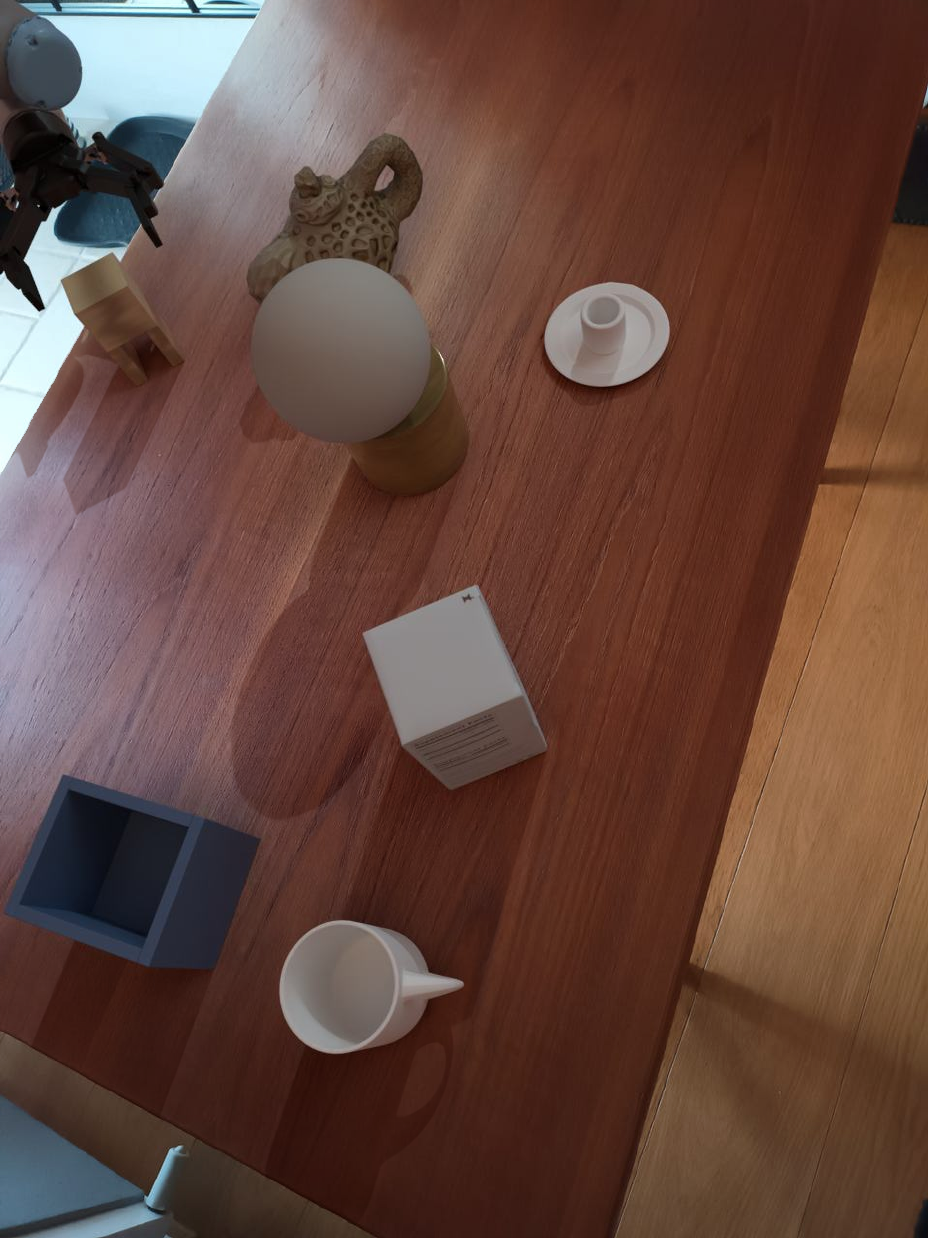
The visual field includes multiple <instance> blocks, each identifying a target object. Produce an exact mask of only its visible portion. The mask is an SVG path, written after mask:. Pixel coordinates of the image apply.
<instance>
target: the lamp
mask: <svg viewBox="0 0 928 1238" xmlns="http://www.w3.org/2000/svg"><path fill="white" fill-rule="evenodd" d="M250 354H251V364H252V368H253V369H252V370H253V373H254V377H255V380H256V382H257V384H258V387H259V389H260V391H261V394H262V395H263V397H264V399H265V400H266V401H267V403H268V405H269V406H270V407H271V409H272V410H273V411H274V412H275V413H276V414H277V415H278V416H279V417H280V419H282V421H284V422H285V423H286V424H287V425H289V426H290V427H292V428H293V429H295V430H296V431H298V432H299V433H301V434H304V435H305V436H308V437H310V438H312V439H315V440H318V441H322V442H326V443H333V444H345V446H346V448H347V450H348V452H349V453H350V455H351V457H352V458H353V460H354V461H355V463H356V465H357V467H358V468H359V470H360V472H361V474H362V475H363V476H364V478H365V479H366V480H367V481H368V482H369V483H370V484H371V485H372V486H373V487H375V488H376V489H377V490H379V491H382V492H384V493H387V494H390V495H393V496H402V497H409V496H412V497H413V496H418V495H419V496H420V495H422V494H425V493H428V492H431V491H433V490H435V489H437V488H439V487H441V486H442V485H444V484H445V483H446V482H447V481H449V480H450V479H451V478H452V477H453V476H454V475H455V474H456V473H457V472H458V470H459V469H460V467H461V466H462V464H463V463H464V460H465V458H466V455H467V452H468V448H469V441H470V438H469V437H470V435H469V429H468V426H467V422H466V419H465V417H464V414H463V410H462V408H461V405H460V402H459V399H458V396H457V393H456V390H455V388H454V384H453V382H452V379H451V375H450V372H449V370H448V367H447V364H446V362H445V359H444V357H443V355H442V354H441V351H440V350H438V348H437V347H436V346H435V345H434V344H433V343H432V342H431V339H430V333H429V330H428V326H427V323H426V319H425V318H424V315H423V313H422V311H421V308H420V307H419V305H418V304H417V301H416V300H415V299H414V298H413V296H412V295H411V293H410V292H409V290H407V289H406V288H405V287H404V286H403V284H402V283H400V282H399V281H398V280H397V279H396V278H394V276H392V275H391V274H390V273H389V274H388V273H386V272H384V271H383V270H381V269H379V268H377V267H375V266H373V265H370V264H368V263H365V262H362V261H357V260H352V259H345V258H332V259H323V260H318V261H314V262H311V263H308V264H305V265H303V266H301V267H299V268H297V269H295V270H293V271H292V272H290V273H289V274H287V275H286V276H285V277H284V278H282V279H281V280H280V281H279V282H278V283H277V284H276V285H275V286H274V287H273V289H272V290H271V291H270V292H269V293H268V295H267V296H266V298H265V299H264V301H263V303H262V305H261V306H260V307H259V309H258V312H257V313H256V316H255V319H254V323H253V326H252V331H251V340H250Z"/></svg>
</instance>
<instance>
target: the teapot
mask: <svg viewBox="0 0 928 1238" xmlns="http://www.w3.org/2000/svg"><path fill="white" fill-rule="evenodd" d="M386 167H388V168H390V170H391V171H392V172H394V173H393V177H392V179H391V180H390V181H389V182H388V184H387V186H386V187H384V188H381V189H379V190H375V189H376V186H377V183H378V180H379V178H380V176H381V175H382V173H383V171H384V170H385V169H386ZM423 178H424V174H423V170H422V168H421V166H420V163H419V162H418V159H417V157H416V155H415V152H414V151H413V150H412V149H411V147H410V145H408V143H407V142H406V140H404V139H403V137H401V136H397V135H394V134H390V133H387V132H383V133H382V134H380V135H379V136H377V137H376V138H374V139H372V140H370V141H369V142H368V143H367V145H366V146H365V147H364V149H362V152H361V153H360V154H359V155H358V157H357V158H356V160H355V161H354V162H353V164H352V165H351V166H350V167H349V169H348V170H347V171H346V172H345V173H344V174H343V175H341V176H340V177H339V178H338V179H334V177H332V176H331V175H328V174H320V175H316V173H315V172H314V170H313V168H311V166H307V165H304V166H302V168H301V169H300V170H298V172H297V173H296V174H295V175H294V176H293V183H294V187H293V189H292V190H291V192H290V196H289V200H288V207H289V212H290V214H289V215H288V216H287V218H286V219H285V222H284V225H283V228H282V230H281V231H280V232H279V233H278V234H277V235H276V236H275V237H274V238H273V239H272V240H271V241H270V243H268V244H267V245H265V246H264V247H263V248H261V250H260V251H259V253H257V254H256V256H255V257H254V258H253V259H252V260H251V262H249V265H248V269H247V273H246V283H247V286H248V294H249V295H250V297H252V299H254V300H255V302H257V304H258V305H259V306H260V307H261V305H262V303H263V301H264V299H265V298H266V296H267V295H268V293H269V292H270V291H271V290H272V289H273V287H274V286H275V285H276V284H277V283H278V282H279V281H280V280H281V279H282V278H284V277H285V276H286V275H287V274H289V273H290V272H292V271H293V270H295V269H297V268H299V267H301V266H303V265H305V264H308V263H311V262H314V261H318V260H323V259H332V258H345V259H352V260H357V261H362V262H365V263H368V264H370V265H373V266H375V267H377V268H379V269H381V270H383V271H384V272H386V273H388V274H389V275H390V273H391V271H392V269H393V264H394V260H395V255H396V254H397V251H398V245H399V242H400V227H401V223H402V222H403V221H404V220H406V219H407V218H409V217H411V215H412V214H413V212H414V211H415V209H416V207H417V205H418V203H419V202H420V200H421V196H422V191H423V185H424V179H423Z"/></svg>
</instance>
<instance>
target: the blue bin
mask: <svg viewBox="0 0 928 1238" xmlns="http://www.w3.org/2000/svg"><path fill="white" fill-rule="evenodd" d="M260 843H261V838H260V837H257V836H254V835H252V834H249V833H247V832H244V831H241V830H238V829H236V828H233V827H231V826H227V825H225V824H222V823H220V822H217V821H214V820H211V819H209V818H206V817H203V816H200V815H196V814H194V813H190V812H188V811H184V810H181V809H178V808H174V807H171V806H167V805H165V804H162V803H158V802H155V801H151V800H149V799H145V798H142V797H138V796H135V795H132V794H128V793H126V792H122V791H119V790H116V789H113V788H110V787H108V786H107V787H106V786H103V785H100V784H98V783H93V782H90V781H87V780H83V779H80V778H78V777H74V776H71V775H68V774H64V773H63V774H62V775H61V778H60V780H59V782H58V784H57V787H56V789H55V791H54V794H53V796H52V798H51V800H50V802H49V806H48V807H47V809H46V812H45V815H44V816H43V819H42V821H41V824H40V826H39V829H38V831H37V833H36V836H35V838H34V840H33V842H32V845H31V847H30V849H29V852H28V854H27V857H26V859H25V861H24V864H23V865H22V868H21V870H20V873H19V875H18V876H17V880H16V882H15V884H14V887H13V889H12V891H11V894H10V896H9V899H8V900H7V903H6V905H5V908H4V909H3V915H5V916H8V917H11V918H14V919H16V920H18V921H22V922H24V923H26V924H30V925H33V926H36V927H38V928H40V929H43V930H46V931H49V932H51V933H55V934H57V935H58V936H59V935H60V936H62V937H65V938H67V939H70V940H73V941H76V942H79V943H82V944H84V945H87V946H90V947H92V948H95V949H97V950H101V951H103V952H106V953H109V954H111V955H115V956H116V957H119V958H122V959H125V960H128V961H130V962H133V963H136V964H138V965H142V966H144V967H147V968H162V969H164V968H166V969H192V970H193V969H194V970H214V969H215V967H216V964H217V962H218V960H219V956H220V955H221V951H222V948H223V946H224V942H225V939H226V937H227V935H228V932H229V928H230V926H231V924H232V920H233V918H234V915H235V912H236V909H237V906H238V904H239V901H240V898H241V895H242V893H243V890H244V887H245V884H246V882H247V878H248V876H249V874H250V870H251V867H252V865H253V862H254V859H255V856H256V853H257V851H258V848H259V846H260Z"/></svg>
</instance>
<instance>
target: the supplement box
mask: <svg viewBox="0 0 928 1238" xmlns="http://www.w3.org/2000/svg"><path fill="white" fill-rule="evenodd" d="M361 634H362V638H363V640H364V643H365V647H366V649H367V652H368V654H369V657H370V660H371V662H372V665H373V668H374V672H375V674H376V678H377V680H378V682H379V684H380V688H381V691H382V694H383V696H384V699H385V702H386V704H387V707H388V710H389V713H390V716H391V719H392V721H393V725H394V727H395V729H396V730H395V731H396V733H397V736H398V739H399V741H400V745H401V747H402V748H403V749H404V750H405V751H406V752H408V754H410V756H412V757H413V758H414V759H415V760H416V761H417V762H419V764H421V765H422V766H423V767H424V768H425V769H426V770H427V771H428V772H430V774H432V775H433V776H434V777H435V778H436V779H437V780H438V781H439V783H442V784H443V785H444V786H445V788H447V789H448V790H450V791H452V790H455V789H458V788H460V787H462V786H465V785H468V784H470V783H473V782H475V781H478V780H480V779H482V778H485V777H487V776H490V775H492V774H494V773H497V772H499V771H501V770H504V769H506V768H508V767H511V766H513V765H516V764H518V763H521V762H523V761H526V760H528V759H531V758H533V757H535V756H538V755H540V754H543V753H545V752H547V750H548V744H547V742H546V739H545V735H544V733H543V731H542V729H541V725H540V723H539V721H538V719H537V717H536V713H535V711H534V709H533V706H532V704H531V701H530V698H528V695H527V692H526V689H525V687H524V685H523V682H522V679H520V678H521V677H520V676H519V674H518V671H517V669H516V666H515V664H514V663H513V661H512V657H511V656H510V653H509V652H508V649H507V648H506V647H507V646H506V645H505V643H504V641H503V638H502V636H501V634H500V631H499V630H498V626H497V625H496V623H495V619H494V617H493V615H492V613H491V610H490V608H489V606H488V604H487V601H486V599H485V597H484V596H483V593H482V591H481V589H480V587H479V585H478V584H474V585H472V586H469V587H467V588H465V589H462V590H460V591H458V592H455V593H453V594H450V595H447V596H445V597H443V598H441V599H439V600H436V601H434V602H432V603H429V604H426V605H424V606H422V607H420V608H418V609H415V610H413V611H410V612H408V613H406V614H403V615H400V616H398V617H395V618H394V619H392V620H389V621H387V622H384V623H382V624H379V625H377V626H375V627H372V628H370V629H368V630H366V631H364V632H362V633H361Z"/></svg>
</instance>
